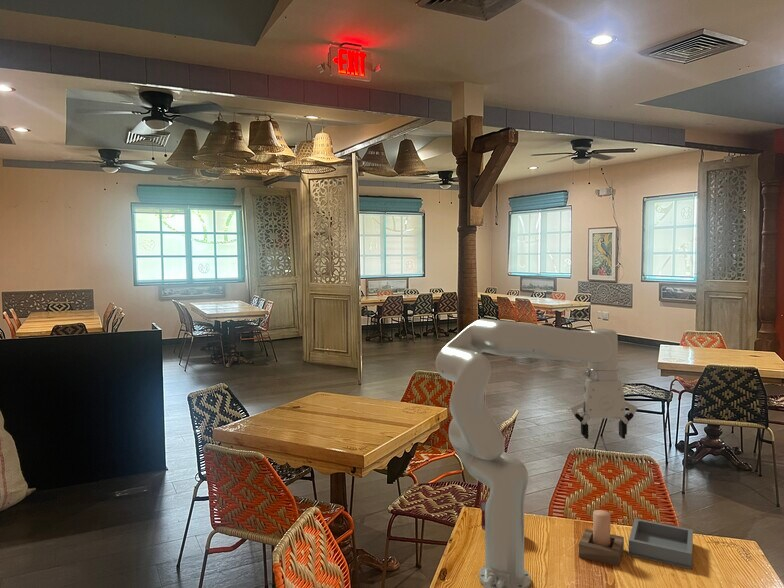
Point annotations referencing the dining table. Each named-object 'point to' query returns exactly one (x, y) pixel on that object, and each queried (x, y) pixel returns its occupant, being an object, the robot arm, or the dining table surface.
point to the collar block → (601, 549)
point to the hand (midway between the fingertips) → (603, 437)
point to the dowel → (601, 528)
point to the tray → (661, 543)
